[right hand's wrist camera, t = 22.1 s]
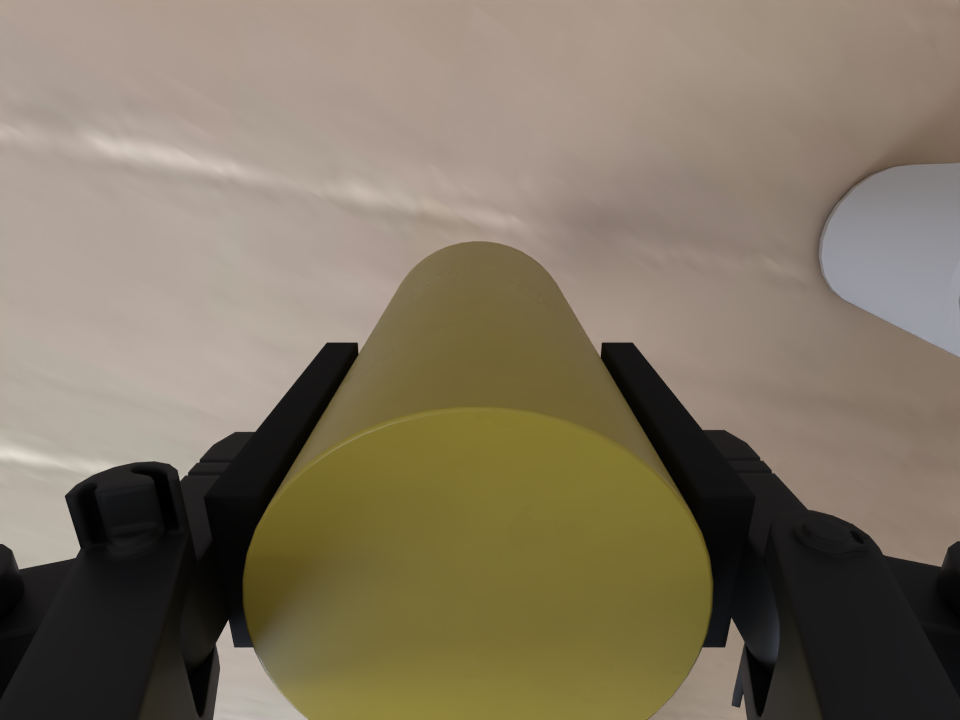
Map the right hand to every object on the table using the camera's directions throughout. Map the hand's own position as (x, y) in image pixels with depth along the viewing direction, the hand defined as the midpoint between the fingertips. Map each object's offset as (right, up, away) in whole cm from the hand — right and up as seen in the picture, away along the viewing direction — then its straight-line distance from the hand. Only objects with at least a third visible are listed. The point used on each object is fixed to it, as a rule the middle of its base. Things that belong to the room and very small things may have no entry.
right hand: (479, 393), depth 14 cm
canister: (0, +2, +4) cm, 5 cm away
